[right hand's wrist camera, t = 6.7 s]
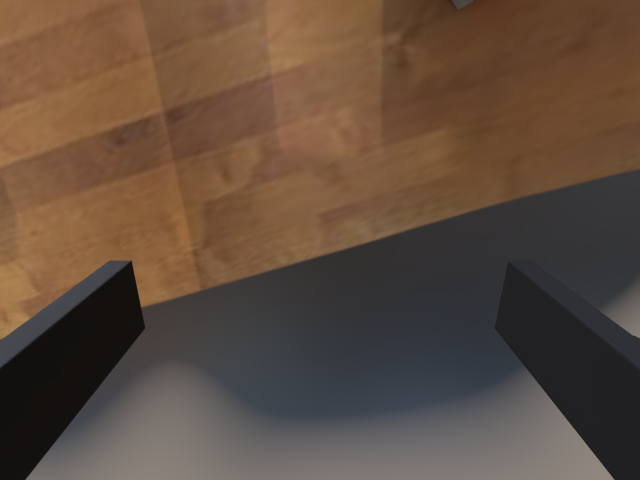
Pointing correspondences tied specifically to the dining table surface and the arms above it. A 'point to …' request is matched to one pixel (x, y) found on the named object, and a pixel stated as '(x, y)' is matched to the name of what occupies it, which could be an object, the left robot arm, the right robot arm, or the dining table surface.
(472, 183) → the dining table surface
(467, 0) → the hard drive box
